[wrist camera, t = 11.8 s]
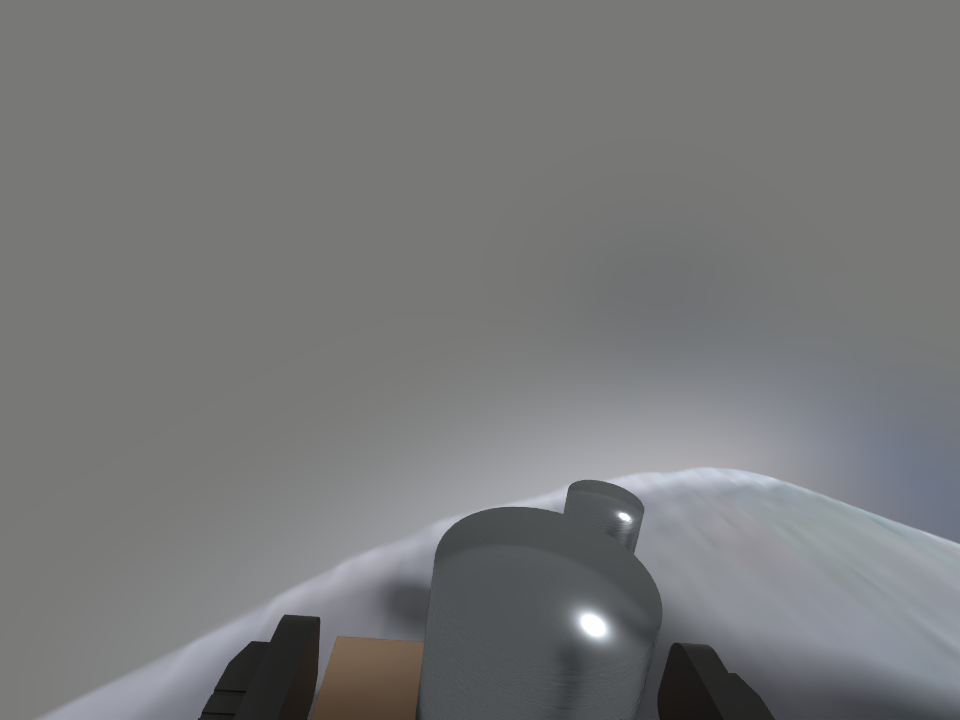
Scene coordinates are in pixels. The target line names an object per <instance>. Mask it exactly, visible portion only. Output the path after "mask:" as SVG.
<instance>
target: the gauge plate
mask: <svg viewBox="0 0 960 720" xmlns="http://www.w3.org/2000/svg"><path fill="white" fill-rule="evenodd" d="M423 650H424V642H417V641H402V640H387V639H372V638H356V637H341V636H337V638H336V641H335V645H334V648H333V651H332V654H331V657H330V661H329V664H328V667H327V670H326V673H325V676H324V680H323V683H322V686H321V689H320V692H319V696H318V699H317V702H316V705H315V708H314V711H313V715H312V718H311V720H415V715H416V707H417V699H418V691H419V683H420V674H421V666H422V658H423Z"/></svg>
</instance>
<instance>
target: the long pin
mask: <svg viewBox="0 0 960 720" xmlns="http://www.w3.org/2000/svg"><path fill="white" fill-rule="evenodd" d="M661 621H662V603H661V598H660V594H659V592H658V589H657V587H656V584H655V582H654V581H653V579H652V577H651V575H650V574H649V572H648V571H647V570H646V568H645V567H644V565H643V564H642V563H641V562H640V561H639V560H638V559H637V558H636V556H635V555H634V554H632V553H631V552H630V551H629V550H628V549H627V548H626V547H625V546H623V545H622V544H621V543H619V542H618V541H617V540H616V539H614V538H613V537H611V536H609V535H608V534H606V533H605V532H603V531H601V530H599V529H598V528H596V527H594V526H592V525H590V524H588V523H585V522H583V521H581V520H578V519H576V518H573V517H570V516H567V515H564V514H561V513H557V512H553V511H549V510H543V509H538V508H529V507H500V508H493V509H488V510H484V511H480V512H477V513H474V514H471V515H469V516H467V517H465V518H463V519H462V520H460V521H458V522H457V523H455V524H454V525H453V526H452V527H451V528H450V529H449V530H448V531H447V532H446V533H445V534H444V536H443V537H442V539H441V540H440V542H439V544H438V547H437V550H436V553H435V560H434V568H433V576H432V584H431V593H430V601H429V609H428V617H427V625H426V633H425V642H424V650H423V658H422V666H421V674H420V683H419V691H418V699H417V707H416V715H415V720H635V719H636V716H637V712H638V708H639V705H640V701H641V697H642V693H643V690H644V686H645V682H646V679H647V675H648V671H649V667H650V664H651V660H652V656H653V652H654V649H655V645H656V641H657V638H658V634H659V630H660V626H661Z"/></svg>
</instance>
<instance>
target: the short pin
mask: <svg viewBox="0 0 960 720" xmlns="http://www.w3.org/2000/svg"><path fill="white" fill-rule="evenodd" d="M643 514H644V506H643V504H642V502H641V501H640V500H639V499H638V498H637V497H636V496H635V495H633V494H632V493H631V492H629V491H627V490H625V489H624V488H621V487H619V486H617V485H614V484H611V483H607V482H603V481H597V480H581V481H577V482H575V483H573V484H571V485H570V486H569V488H568V493H567V498H566V503H565V508H564V515H567V516H570V517H573V518H576V519H578V520H581V521H583V522H585V523H588V524H590V525H592V526H594V527H596V528H598V529H599V530H601V531H603V532H605V533H606V534H608V535H609V536H611V537H613V538H614V539H616V540H617V541H618V542H619V543H621V544H622V545H623V546H625V547H626V548H627V549H628V550H629V551H630V552H631V553H632V554H634V552H635V548H636V544H637V539H638V535H639V531H640V527H641V522H642V518H643Z"/></svg>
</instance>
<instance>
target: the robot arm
mask: <svg viewBox="0 0 960 720" xmlns="http://www.w3.org/2000/svg"><path fill="white" fill-rule="evenodd" d="M319 638H320V618H319V617H312V616H298V615H284V616H283V617H282V619H281V620H280V622H279V624H278V626H277V629H276V631H275V633H274V635H273V637H272V639H271V641H270V642H257V641H251V642H250V643H249V644H248V645H247V646H246V647H245V648H244V649H243V650H242V651H241V652H240V653H239V654H238V655H237V656H236V657H235V658H234V659H232V660H231V661H230V662H229V664H228V666H227V667H226V669H225V671H224V673H223V675H222V676H221V678H220V680H219V682H218V684H217V686H216V687H215V689H214V693H213V695H211V696H210V698H209V700H208V702H207V704H206V705H205V707H204V709H203V711H202V714H201V717H200V718H198V720H307V717H308V714H309V711H310V708H311V704H312V701H313V697H314V692H315V687H316V682H317V675H318V658H319ZM658 713H659V718H660V720H775V719H774V717H773V716H772V714H771V713H770V711H769V710H768V708H767V707H766V705H765V704H764V702H763V701H762V699H761V698H760V696H759V695H758V694H757V693H756V692H755V691H754V690H753V689H752V688H750V687H749V686H748V685H747V684H746V683H745V682H744V681H743V680H742V679H741V678H740V677H739V676H738V675H737V674H735V673H728V671H727V670H726V668H725V666H724V665H723V663H722V662H721V660H720V659H719V657H718V655H717V654H716V652H715V651H714V650H713V649H712V647H710V646H709V645H703V644H688V643H674V644H673V645H672V646H671V649H670V652H669V656H668V659H667V663H666V667H665V670H664V674H663V677H662V681H661V685H660V688H659V692H658Z"/></svg>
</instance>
